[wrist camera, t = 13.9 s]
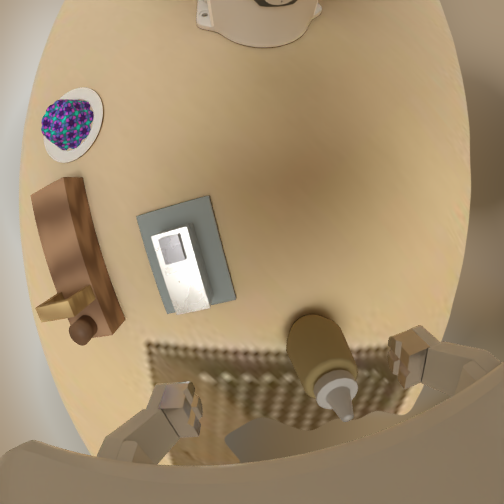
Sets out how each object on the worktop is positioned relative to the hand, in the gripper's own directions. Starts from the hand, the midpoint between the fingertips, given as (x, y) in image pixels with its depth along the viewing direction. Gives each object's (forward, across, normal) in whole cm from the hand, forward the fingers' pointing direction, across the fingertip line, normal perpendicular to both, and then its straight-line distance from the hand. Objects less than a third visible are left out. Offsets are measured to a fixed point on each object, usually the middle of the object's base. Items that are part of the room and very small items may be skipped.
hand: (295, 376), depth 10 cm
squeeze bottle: (+26, -5, +15) cm, 30 cm away
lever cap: (+25, +10, +1) cm, 27 cm away
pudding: (+27, +23, -24) cm, 43 cm away
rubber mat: (+26, +10, 0) cm, 28 cm away
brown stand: (+26, +26, -4) cm, 37 cm away
